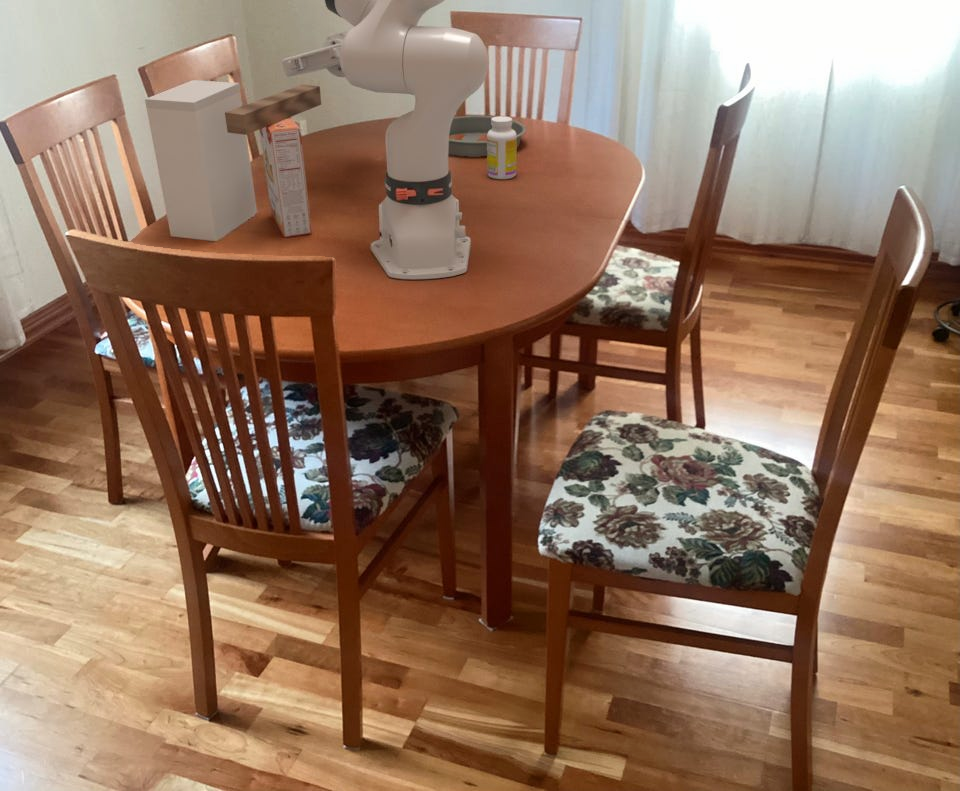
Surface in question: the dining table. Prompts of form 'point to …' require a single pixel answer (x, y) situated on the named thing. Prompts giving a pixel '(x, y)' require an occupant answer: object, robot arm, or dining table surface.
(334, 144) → the dining table surface
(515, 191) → the dining table surface
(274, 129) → the cracker box
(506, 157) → the supplement bottle
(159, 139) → the grey pedestal
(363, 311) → the dining table surface
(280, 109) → the walnut bar
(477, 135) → the cake pan
